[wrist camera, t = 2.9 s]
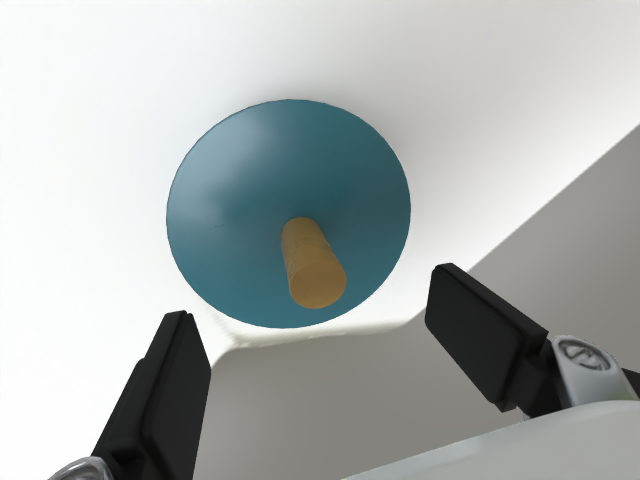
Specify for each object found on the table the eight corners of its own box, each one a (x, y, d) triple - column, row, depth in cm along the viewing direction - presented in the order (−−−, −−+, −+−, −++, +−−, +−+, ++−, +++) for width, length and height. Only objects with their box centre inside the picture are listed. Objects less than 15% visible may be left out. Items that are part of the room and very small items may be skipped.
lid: (131, 108, 13) (21, 97, 7) (412, 94, 15) (511, 79, 9) (206, 334, 19) (184, 430, 13) (394, 298, 22) (444, 365, 16)
